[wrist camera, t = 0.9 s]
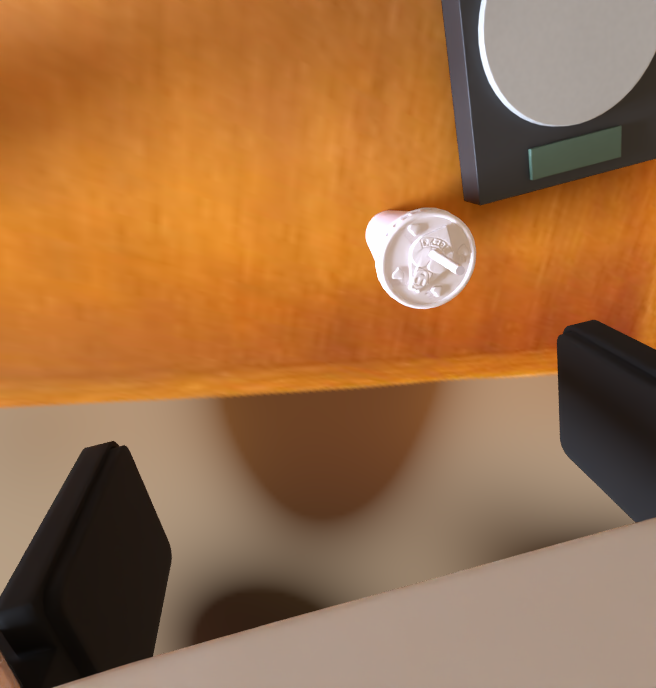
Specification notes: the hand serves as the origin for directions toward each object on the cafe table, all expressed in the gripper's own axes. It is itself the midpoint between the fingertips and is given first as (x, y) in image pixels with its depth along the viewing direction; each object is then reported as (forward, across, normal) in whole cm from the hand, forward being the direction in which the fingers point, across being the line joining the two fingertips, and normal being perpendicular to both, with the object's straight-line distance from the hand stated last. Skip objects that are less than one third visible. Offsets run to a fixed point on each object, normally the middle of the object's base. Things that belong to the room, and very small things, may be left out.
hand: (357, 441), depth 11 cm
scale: (+31, -22, -8) cm, 38 cm away
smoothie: (+31, -8, +2) cm, 32 cm away
